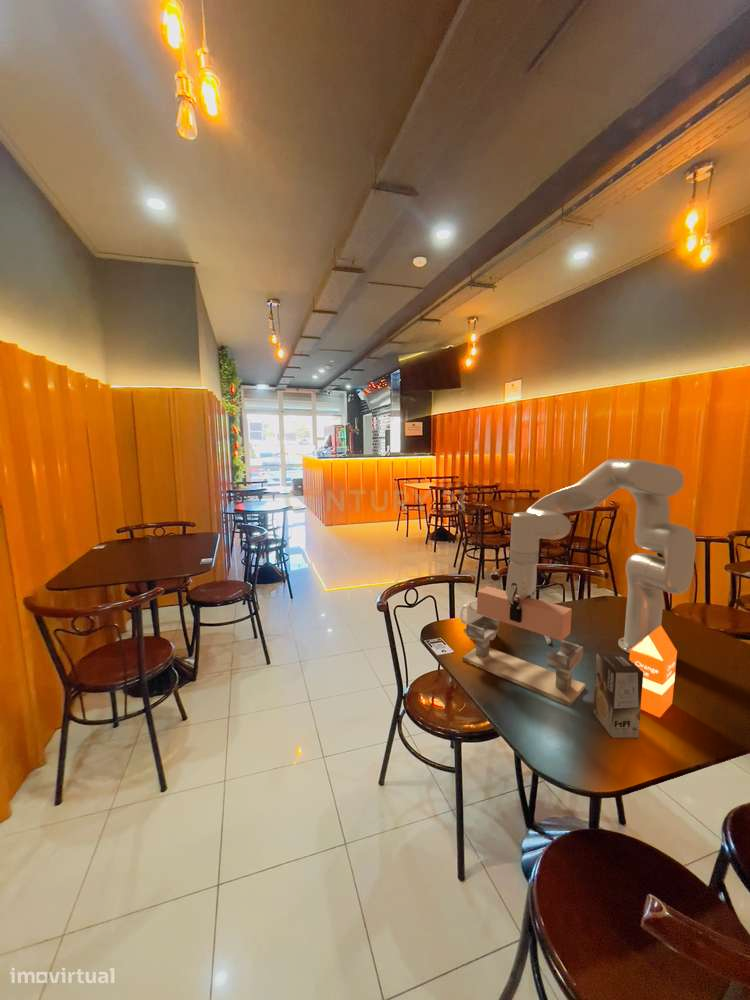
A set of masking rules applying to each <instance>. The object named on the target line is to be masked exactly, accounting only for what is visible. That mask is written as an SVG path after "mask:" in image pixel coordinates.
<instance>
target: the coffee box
mask: <svg viewBox="0 0 750 1000" xmlns="http://www.w3.org/2000/svg"><path fill="white" fill-rule="evenodd" d="M595 659H596V660H595V676H594V693H593V710H592V712H593V714H594V716H595V717H596V718H597V719H598V721H599V723H601V725H602V727H603V728H604V729H605V731H606V732H608V734H609V735H610V736H611V738H622V739H623V738H625V739H627V738H635V739H637V738H639V734H640V733H639V732H640V721H641V720H640V719H641V710H642V709H641V697H642V684H643V673H644V672H643V671H642V670H640V669H639V668H638V667H637V666H636V665H635V664H634V663H633V662H631V661H630V660H629V657H627V656H626V655H625V654H624V653H623V652H622V651H621V652H620V651H615V652H614V651H610V652H609V651H606V652H605V651H604V652H596V657H595Z"/></svg>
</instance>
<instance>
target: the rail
mask: <svg viewBox="0 0 750 1000" xmlns="http://www.w3.org/2000/svg"><path fill="white" fill-rule="evenodd" d="M476 593H477V595H476V597H477V598H476V599H477V614H480V615H484V616H487V617H490V618H493V619H496V620H499V622H503V623H506V624H509V625H511V626H515V627H518V628H521V629H524V630H527V631H530V632H534V633H536V634H538V635H542V636H544V635H545V636H548V637H549V638H550V639H555V640H557V641H559V642H560V641H562V640H564V639H566V638H567V637H568V636H569V635H570V634H571V628H572V627H571V625H572V612H573V609H572V608H570V607H567V606H564V605H559V604H556V603H552V602H548V601H545V600H541V599H537V598H534V597H533V598H530V597H525V598H523V599H522V603H521V609H522V618H521V622H520V623H519V622H516V621H513V620H510V606H509V605H510V604H509V601H508V600H507V598H508V596H507V595H506V590H502V589H499V588H495V587H493V586H492V587H491V586H489V585H487V586H485V587H483V588H481V589H479V590H477V592H476ZM515 596H516V597H519V595H515ZM518 600H519V599H515V601H516V602H517V603H518Z"/></svg>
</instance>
